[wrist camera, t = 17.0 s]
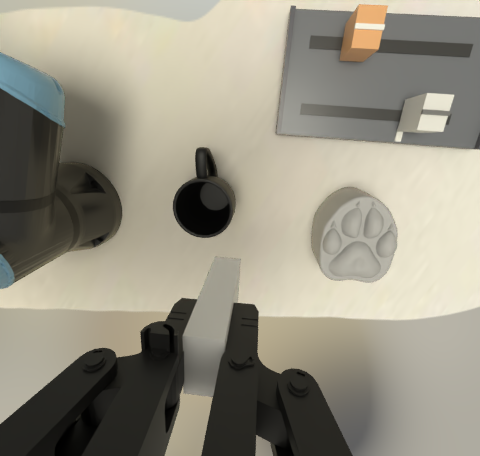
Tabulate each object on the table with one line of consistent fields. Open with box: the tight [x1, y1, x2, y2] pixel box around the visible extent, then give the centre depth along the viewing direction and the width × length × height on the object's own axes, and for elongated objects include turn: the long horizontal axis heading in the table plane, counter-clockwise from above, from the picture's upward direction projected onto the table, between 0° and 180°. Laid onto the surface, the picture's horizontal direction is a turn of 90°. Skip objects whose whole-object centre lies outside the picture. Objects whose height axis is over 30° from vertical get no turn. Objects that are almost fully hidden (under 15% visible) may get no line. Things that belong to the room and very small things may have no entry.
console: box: [276, 6, 480, 149], centre depth 35 cm, size 28×15×3 cm, turn 86°
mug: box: [173, 147, 235, 238], centre depth 39 cm, size 8×12×10 cm
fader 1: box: [339, 4, 388, 62], centre depth 31 cm, size 3×4×5 cm
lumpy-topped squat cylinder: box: [312, 187, 397, 283], centre depth 40 cm, size 10×13×9 cm
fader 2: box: [397, 93, 454, 133], centre depth 33 cm, size 3×4×5 cm
